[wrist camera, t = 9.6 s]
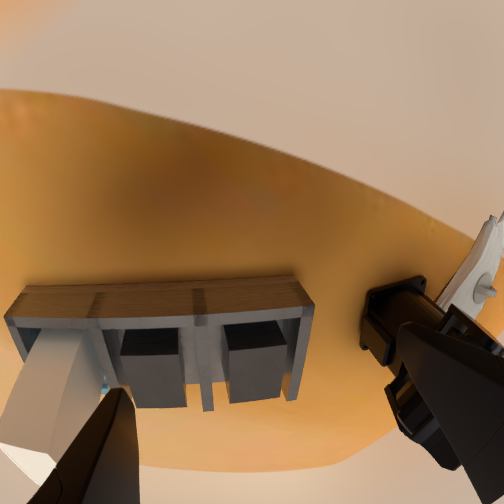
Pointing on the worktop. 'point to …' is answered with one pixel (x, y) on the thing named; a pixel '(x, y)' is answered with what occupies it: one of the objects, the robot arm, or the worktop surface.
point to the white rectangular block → (51, 400)
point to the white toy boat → (476, 271)
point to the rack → (181, 335)
